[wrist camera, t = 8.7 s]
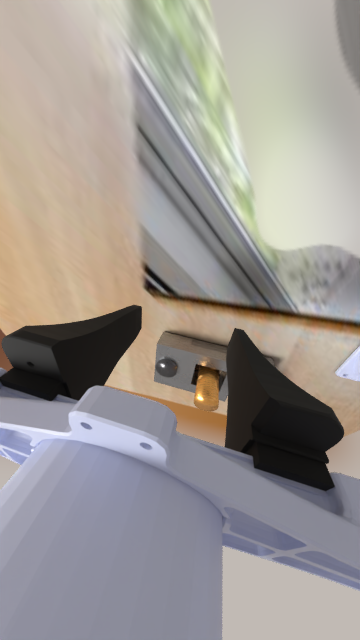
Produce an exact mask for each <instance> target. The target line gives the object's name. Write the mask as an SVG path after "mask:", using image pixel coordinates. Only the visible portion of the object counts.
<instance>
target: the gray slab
mask: <svg viewBox="0 0 360 640" xmlns="http://www.w3.org/2000/svg"><path fill="white" fill-rule="evenodd" d="M227 348H228V347H224V346H220V345H216V344H212V343H208V342H204V341H200V340H196V339H192V338H188V337H184V336H180V335H175V334H171V333H167V332H163V334H162V335H161V337H160V339H159V341H158V343H157V350H156V363H155V376H154V381H155V382H158V383H162V384H165V385H169V386H172V387H176V388H179V389H183V390H186V391H190V392H193V393H195V392H196V385H197V379H198V373H199V371H198V370H194V369H195V366H196V364H199V365H202V366H206V367H210V368H214V369H217V370H221V371H222V372H221V375H220V376H219V400H221V401H225V400H226V398H227V396H228V382H227V368H226V354H227ZM264 357H265V356H264ZM265 358H266V359H267V360H268V361H269V362H270V363H271V364H272V365H273V366H274V367H275V365H274V362H273V359H272V358H269V357H265Z"/></svg>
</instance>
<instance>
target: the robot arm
mask: <svg viewBox="0 0 360 640" xmlns="http://www.w3.org/2000/svg"><path fill="white" fill-rule="evenodd" d="M141 324H142V307H141V306H137V305H132V306H129V307H126V308H123V309H121V310H118V311H115V312H113V313H109V314H106V315H103V316H100V317H97V318H93V319H89V320H84V321H78V322H72V323H65V324H56V325H39V326H24V327H23V328H21V329H19V330H17V331H15V332H13V333H11V334H9V335H7V336H6V337H4V338H3V340H2V348H3V350H4V352H5V354H6V356H7V357H8V359H9V361H10V362H11V364H12V366H13V367H14V368H12V369H11V370H10V371H8V372H7V371H6V370H5V369H3V368H0V455H1V456H3V457H5V458H7V459H9V460H11V461H13V462H15V463H17V464H20V465H21V466H20V468H19V469H18V470H17V471H16V472H15V473H14V475H13V476H12V477H11V478H10V479H9V481H8V482H7V483H6V484H5V485H4V487H3V488H2V489H1V490H0V640H222V546H225V547H229V548H232V549H235V550H238V551H241V552H244V553H248V554H251V555H254V556H257V557H260V558H263V559H267V560H270V561H273V562H276V563H280V564H283V565H286V566H289V567H292V568H295V569H298V570H301V571H304V572H307V573H310V574H313V575H316V576H320V577H322V578H325V579H328V580H331V581H334V582H336V583H339V584H342V585H345V586H347V587H350V588H353V589H355V590H358V591H360V479H357V478H353V477H350V476H347V475H344V474H341V473H329V471H328V469H327V467H326V464H327V463H329V459H328V457H327V455H326V453H325V452H326V451H327V450H328V449H330V448H331V447H333V446H334V445H335V444H337V443H338V442H339V441H340V440H341V439H342V438H343V435H344V429H343V427H342V425H341V423H340V422H339V420H338V418H337V416H336V415H335V413H334V411H333V410H332V408H330V407H329V406H327V405H326V404H324V403H322V402H321V401H319V400H318V399H316V398H314V397H313V396H311V395H310V394H308V393H307V392H305V391H304V390H303V389H301V388H300V387H298V386H297V385H296V384H294V383H293V382H292V381H290V380H289V379H288V378H287V377H286V376H284V375H283V374H282V373H281V372H280V371H278V370H277V369H276V368H275V367H274V366H273V365H272V364H271V363H270V362H269V361H268V360H267V359H266V358H265V357H264V356H263V354H262V353H261V352H260V351H259V350H258V349H257V347H256V346H255V345H254V344H253V342H252V341H251V340H250V338H249V337H248V335H247V334H246V333H245V332H244V330H241V329H236V328H235V329H234V332H233V334H232V337H231V340H230V342H229V345H228V348H227V354H226V368H227V382H228V409H227V427H226V440H225V447H221V446H219V445H215V444H212V443H209V442H206V441H203V440H200V439H196V438H193V437H190V436H187V435H184V434H181V433H179V432H177V431H176V426H177V420H176V415H175V414H174V413H173V412H172V411H171V410H170V409H169V408H168V407H167V406H165V405H163V404H161V403H159V402H157V401H154V400H150V399H147V398H144V397H140V396H137V395H134V394H130V393H127V392H124V391H120V390H117V389H114V388H110V387H106V386H104V384H105V383H106V381H107V379H108V377H109V376H110V374H111V372H112V371H113V369H114V367H115V366H116V364H117V362H118V361H119V360H120V358H121V357H122V356H123V354H124V353H125V352H126V350H127V349H128V348H129V347H130V345H131V344H132V343H133V341H134V340H135V339H136V337H137V335H138V334H139V332H140V330H141ZM335 373H336V375H337V376H339V377H343V378H347V379H351V380H355V381H359V382H360V346H359V347H358V348H357V349H356V350H355V351H354V352H353V353H352V354H351V355H350V357H349V358H348V359H347V360H346V361H345V362H344V363H343V364H342V365H341V366H340V367H339V368H338V369H337V371H336V372H335ZM325 463H326V464H325Z"/></svg>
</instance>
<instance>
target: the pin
mask: <svg viewBox="0 0 360 640" xmlns="http://www.w3.org/2000/svg"><path fill="white" fill-rule="evenodd" d="M218 403H219V370H217V369H214V368H210V367H206V366H202V365H200V367H199V373H198V379H197V385H196V392H195V398H194V404H195V406H196V407H198V408H199V409H201V410H204V411H214V410H216V409H217V408H218Z"/></svg>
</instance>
